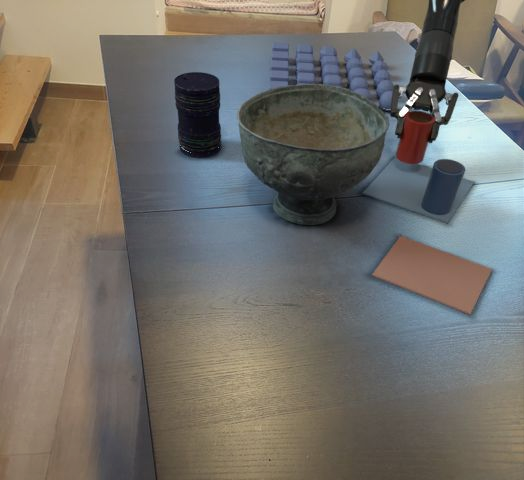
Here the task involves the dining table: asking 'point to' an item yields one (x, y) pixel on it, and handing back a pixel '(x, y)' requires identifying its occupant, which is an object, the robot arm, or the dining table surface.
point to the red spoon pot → (415, 137)
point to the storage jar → (198, 114)
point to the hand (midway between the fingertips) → (414, 139)
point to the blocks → (331, 70)
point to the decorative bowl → (310, 145)
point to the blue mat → (410, 188)
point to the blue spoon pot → (442, 186)
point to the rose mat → (433, 274)
